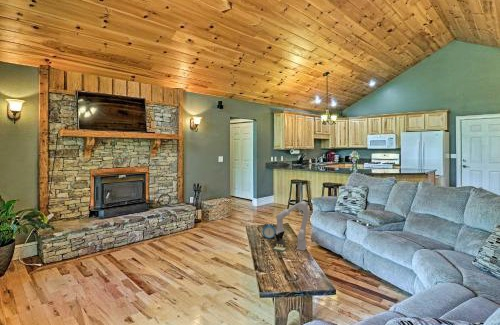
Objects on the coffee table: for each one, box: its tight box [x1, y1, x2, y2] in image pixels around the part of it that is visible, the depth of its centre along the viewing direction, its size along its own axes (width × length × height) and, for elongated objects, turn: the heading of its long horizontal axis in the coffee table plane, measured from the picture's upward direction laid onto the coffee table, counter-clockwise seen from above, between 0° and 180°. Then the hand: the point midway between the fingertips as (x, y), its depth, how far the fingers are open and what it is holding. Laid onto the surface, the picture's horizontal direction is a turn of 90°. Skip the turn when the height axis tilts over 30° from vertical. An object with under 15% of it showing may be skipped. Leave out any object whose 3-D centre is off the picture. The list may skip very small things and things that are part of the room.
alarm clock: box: [262, 223, 276, 239], centre depth 297 cm, size 13×6×15 cm, turn 88°
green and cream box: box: [272, 244, 287, 253], centre depth 262 cm, size 8×10×5 cm
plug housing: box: [271, 238, 286, 248], centre depth 274 cm, size 4×12×6 cm, turn 62°
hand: (279, 239), depth 273 cm, fingers open, 7 cm apart
